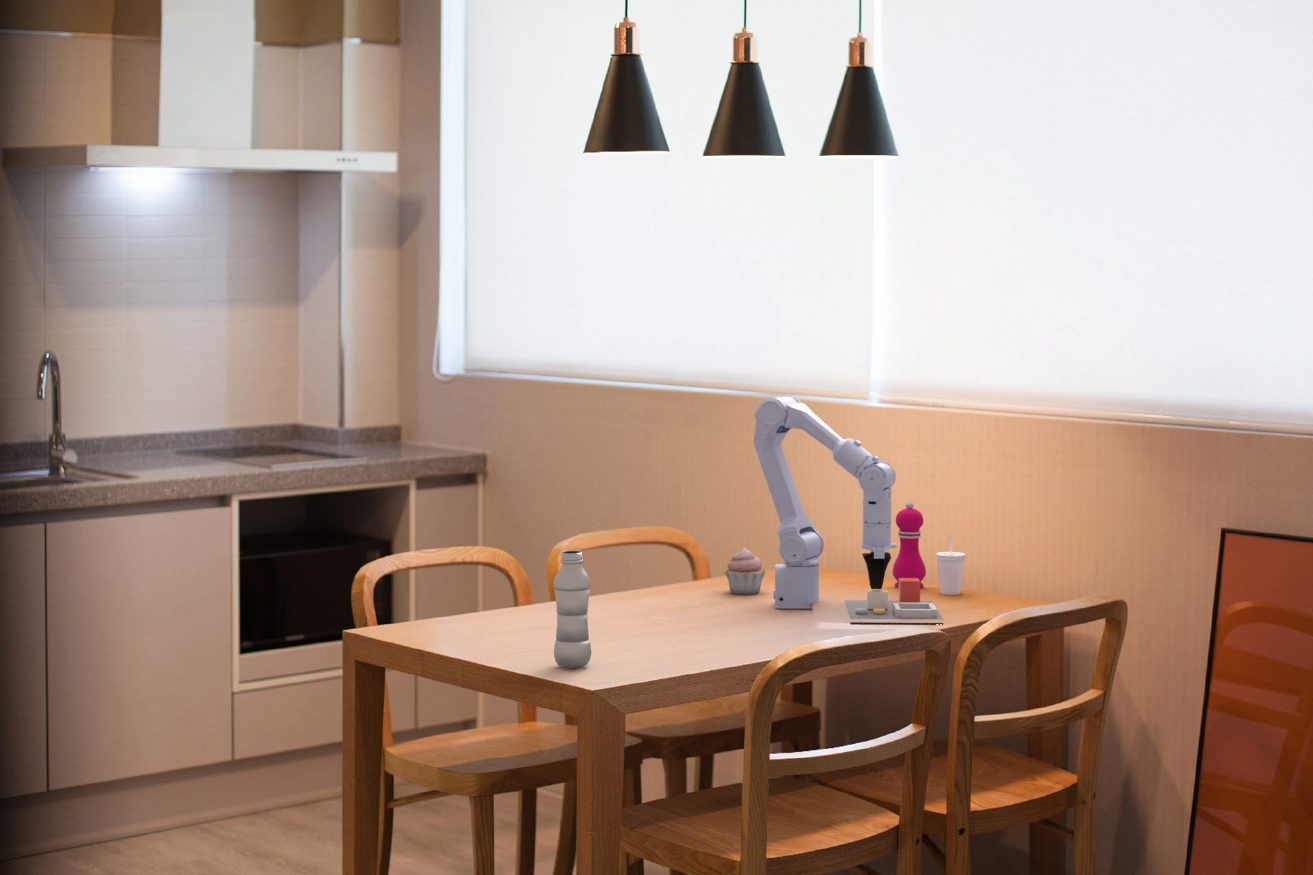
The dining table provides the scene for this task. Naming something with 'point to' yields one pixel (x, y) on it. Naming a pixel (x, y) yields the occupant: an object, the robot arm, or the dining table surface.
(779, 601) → the robot arm
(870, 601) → the block
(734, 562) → the cupcake
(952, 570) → the smoothie
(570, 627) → the plastic bottle
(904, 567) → the pepper mill
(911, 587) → the cap
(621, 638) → the dining table surface
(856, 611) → the panel
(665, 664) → the dining table surface
